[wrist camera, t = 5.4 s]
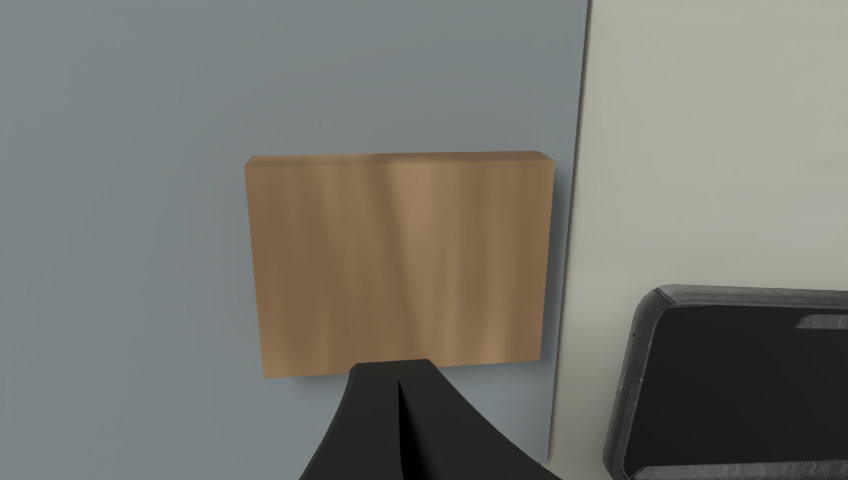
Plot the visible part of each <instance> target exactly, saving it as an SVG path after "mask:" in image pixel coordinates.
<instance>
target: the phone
mask: <svg viewBox="0 0 848 480" xmlns="http://www.w3.org/2000/svg"><path fill="white" fill-rule="evenodd" d="M633 333H634V334H635V337H634V336H633ZM626 373H628V376H627V381H626V385H625V389H624V394H623V395H622V391H623V386H624V382H625V378H626ZM603 461H604V464H605V467H606V469H607V470H608V472H609V473H610V475H611V476H612V478H613V480H848V291H834V290H808V289H782V288H756V287H730V286H703V285H677V284H672V285H664V286H661V287H658V288H656V289H654V290H652V291H651V292H650V293H648V294H647V295H646V296H644V298H643V299H642V300H641V302H640V303H639V304H638V306H637V308H636V311H635V313H634V316H633V321H632V325H631V330H630V334H629V339H628V343H627V348H626V352H625V357H624V361H623V366H622V370H621V375H620V379H619V384H618V388H617V393H616V397H615V402H614V406H613V411H612V415H611V420H610V424H609V429H608V433H607V438H606V442H605V447H604V451H603Z"/></svg>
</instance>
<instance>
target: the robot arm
mask: <svg viewBox="0 0 848 480" xmlns="http://www.w3.org/2000/svg"><path fill="white" fill-rule="evenodd" d="M299 480H562V479H560V478H559V477H557V476H556V475H554V474H553V473H551V472H550V471H549V470H547V469H546V468H544V467H543V466H541V465H540V464H539V463H537V462H536V461H535V460H533V459H532V458H531V457H529V456H528V455H527V454H526V453H524V452H523V451H522V450H521V449H520V448H518V447H517V446H516V445H515V444H514V443H512V442H511V441H510V440H509V439H507V438H506V437H505V436H504V435H503V434H502V433H501V432H499V431H498V430H497V429H496V428H495V427H494V426H493V425H492V424H491V423H490V422H489V421H488V420H487V419H486V418H485V417H483V416H482V415H481V414H480V413H479V412H478V411H477V410H476V409H475V408H474V407H473V406H472V405H471V404H470V403H469V402H468V401H467V400H466V399H465V398H464V397H463V396H462V395H461V394H460V393H459V391H458V390H457V389H456V388H455V387H454V386H453V385H452V384H451V383H450V382H449V381H448V380H447V379H446V377H445V376H444V375H443V374H442V373H441V372H440V371H439V370H438V368H437V367H436V366H435V365H434V364H433V363H432V362H431V361H430V360H429V359H414V360H399V361H383V362H368V363H356V364H355V365H354V366H353V367H352V368H351V369H350V372H349V378H348V382H347V386H346V389H345V392H344V394H343V397H342V399H341V402H340V404H339V407H338V409H337V411H336V413H335V415H334V417H333V420H332V422H331V424H330V426H329V428H328V430H327V432H326V434H325V436H324V438H323V440H322V441H321V443H320V445H319V447H318V448H317V450H316V452H315V453H314V455H313V457H312V458H311V460H310V462H309V464H308V465H307V467H306V469H305V470H304V472H303V474H302V475H301V477H300V478H299Z"/></svg>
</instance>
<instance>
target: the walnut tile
mask: <svg viewBox="0 0 848 480" xmlns="http://www.w3.org/2000/svg"><path fill="white" fill-rule="evenodd" d="M244 169H245V181H246V192H247V203H248V214H249V225H250V236H251V247H252V258H253V270H254V281H255V292H256V303H257V314H258V325H259V336H260V347H261V358H262V370H263V379H267V378H282V377H297V376H313V375H328V374H343V373H349V372H350V369H351V368H352V367H353V366H354V365H355V364H356V363H368V362H383V361H399V360H414V359H429V360H430V361H431V362H432V363H433V364H434V365H435V366H436V367H448V366H464V365H479V364H494V363H509V362H524V361H539V360H540V349H541V336H542V323H543V310H544V297H545V285H546V272H547V259H548V246H549V233H550V221H551V208H552V195H553V182H554V169H555V160H553V159H552V158H550V157H548V156H546V155H544V154H543V153H541V152H539V151H487V152H430V153H373V154H317V155H260V156H252V157H251V158H250V160H249V161H248V162H247V164H246V165H245V166H244Z"/></svg>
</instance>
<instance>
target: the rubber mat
mask: <svg viewBox="0 0 848 480" xmlns="http://www.w3.org/2000/svg"><path fill="white" fill-rule="evenodd" d="M587 4H588V0H0V480H299V478H300V477H301V475H302V474H303V472H304V470H305V469H306V467H307V465H308V464H309V462H310V460H311V458H312V457H313V455H314V453H315V452H316V450H317V448H318V447H319V445H320V443H321V441H322V440H323V438H324V436H325V434H326V432H327V430H328V428H329V426H330V424H331V422H332V420H333V417H334V415H335V413H336V411H337V409H338V407H339V404H340V402H341V399H342V397H343V394H344V392H345V389H346V386H347V382H348V378H349V373H343V374H328V375H313V376H297V377H282V378H267V379H263V370H262V358H261V347H260V336H259V325H258V314H257V303H256V292H255V281H254V270H253V258H252V247H251V236H250V225H249V214H248V203H247V192H246V181H245V169H244V166H245V165H246V164H247V162H248V161H249V160H250V158H251V157H252V156H260V155H317V154H373V153H430V152H487V151H539V152H541V153H543V154H544V155H546V156H548V157H550V158H552V159H553V160H555V169H554V182H553V195H552V208H551V221H550V233H549V246H548V259H547V272H546V285H545V297H544V310H543V323H542V336H541V349H540V360H539V361H524V362H509V363H494V364H479V365H464V366H448V367H437V368H438V370H439V371H440V372H441V373H442V374H443V375H444V376H445V377H446V379H447V380H448V381H449V382H450V383H451V384H452V385H453V386H454V387H455V388H456V389H457V390H458V391H459V393H460V394H461V395H462V396H463V397H464V398H465V399H466V400H467V401H468V402H469V403H470V404H471V405H472V406H473V407H474V408H475V409H476V410H477V411H478V412H479V413H480V414H481V415H482V416H483V417H485V418H486V419H487V420H488V421H489V422H490V423H491V424H492V425H493V426H494V427H495V428H496V429H497V430H498V431H499V432H501V433H502V434H503V435H504V436H505V437H506V438H507V439H509V440H510V441H511V442H512V443H514V444H515V445H516V446H517V447H518V448H520V449H521V450H522V451H523V452H524V453H526V454H527V455H528V456H529V457H531V458H532V459H533V460H535V461H536V462H537V463H539V464H541V463H547V458H548V447H549V436H550V424H551V413H552V402H553V390H554V379H555V368H556V356H557V345H558V333H559V322H560V311H561V299H562V288H563V277H564V265H565V254H566V242H567V231H568V220H569V208H570V197H571V186H572V174H573V163H574V152H575V140H576V129H577V117H578V106H579V95H580V83H581V72H582V61H583V49H584V38H585V26H586V15H587Z"/></svg>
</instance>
